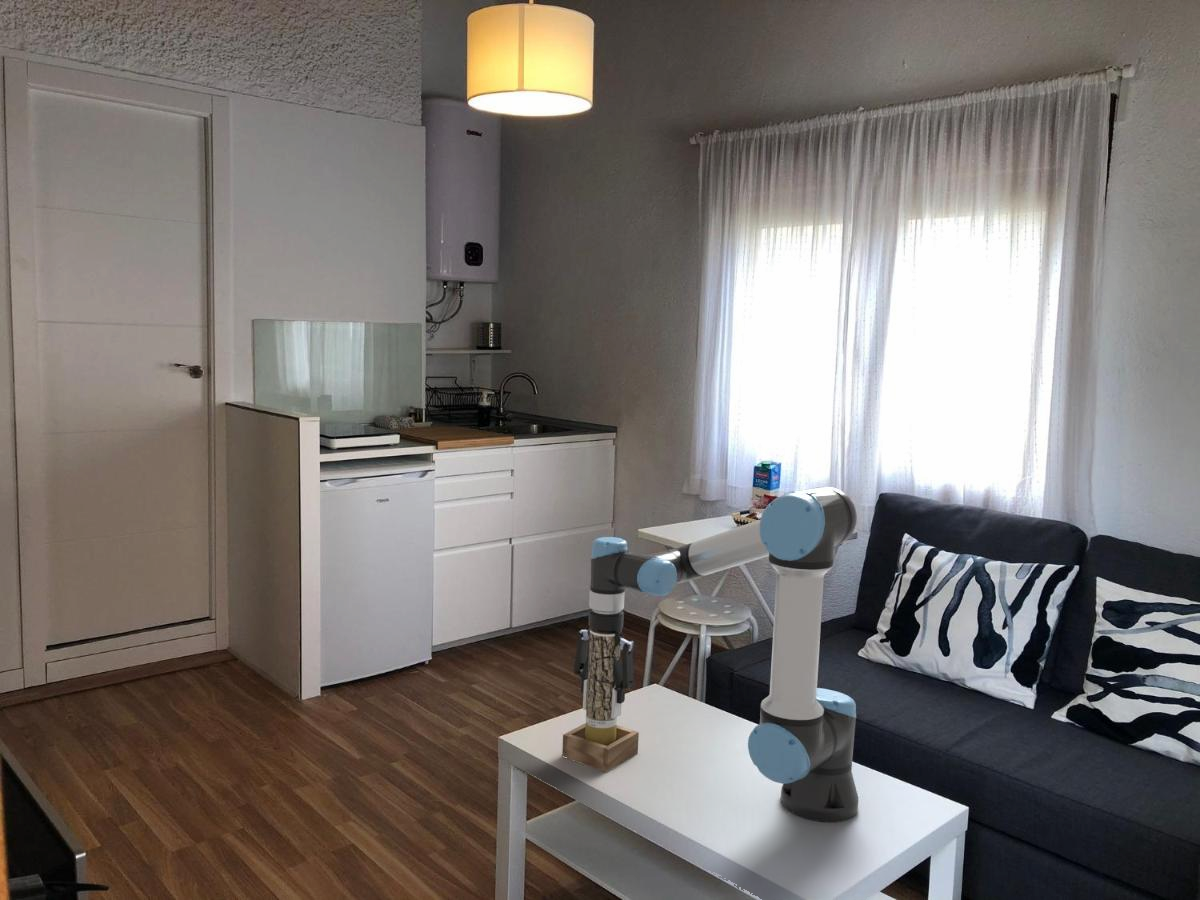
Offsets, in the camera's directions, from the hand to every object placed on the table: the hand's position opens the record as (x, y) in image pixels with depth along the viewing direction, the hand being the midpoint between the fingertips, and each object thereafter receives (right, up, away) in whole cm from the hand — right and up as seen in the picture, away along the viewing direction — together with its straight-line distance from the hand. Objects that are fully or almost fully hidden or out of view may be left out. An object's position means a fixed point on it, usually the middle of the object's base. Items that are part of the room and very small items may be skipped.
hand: (601, 711), depth 219 cm
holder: (0, -10, +1) cm, 10 cm away
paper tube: (0, -7, +1) cm, 7 cm away
